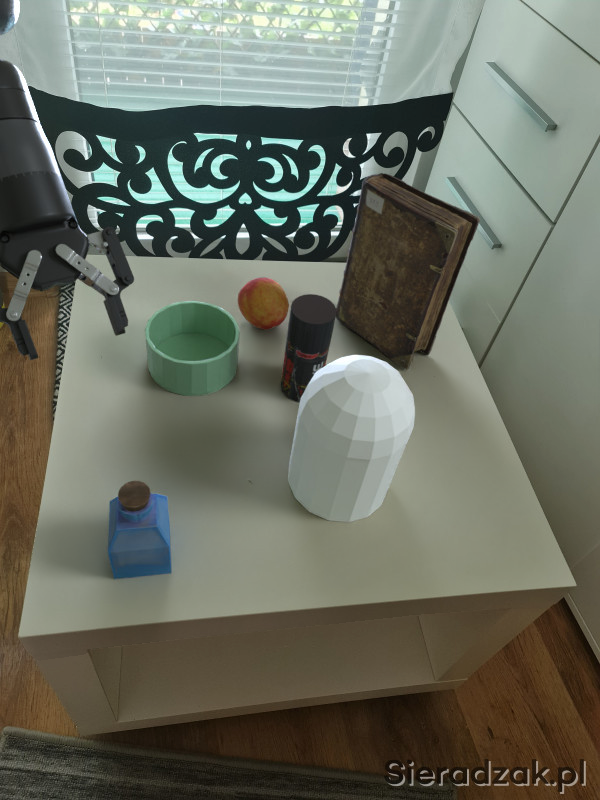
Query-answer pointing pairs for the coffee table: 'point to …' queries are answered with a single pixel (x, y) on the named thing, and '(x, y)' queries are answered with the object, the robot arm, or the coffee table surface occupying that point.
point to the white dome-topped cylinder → (349, 437)
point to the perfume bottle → (139, 532)
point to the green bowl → (192, 347)
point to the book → (402, 266)
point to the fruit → (263, 303)
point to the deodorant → (306, 342)
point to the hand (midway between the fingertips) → (78, 346)
